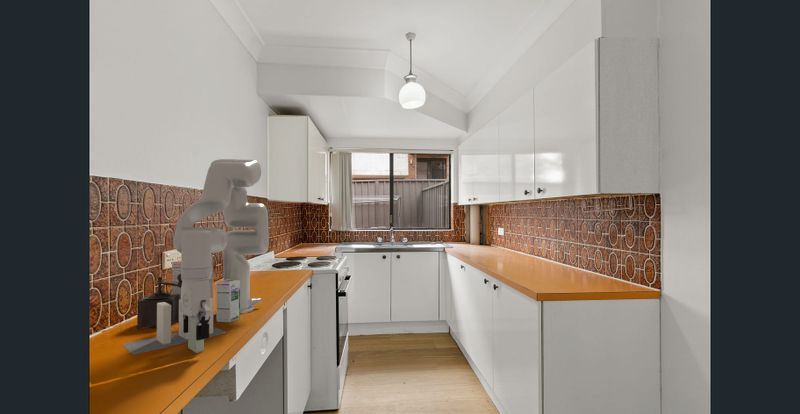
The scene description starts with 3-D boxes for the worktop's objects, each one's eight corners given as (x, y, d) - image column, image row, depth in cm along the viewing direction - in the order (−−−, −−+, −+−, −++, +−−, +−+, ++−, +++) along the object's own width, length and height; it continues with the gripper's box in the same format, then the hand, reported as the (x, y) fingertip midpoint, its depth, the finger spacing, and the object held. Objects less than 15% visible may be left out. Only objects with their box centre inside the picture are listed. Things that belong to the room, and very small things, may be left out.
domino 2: (185, 333, 121) (185, 298, 121) (192, 337, 117) (193, 301, 117) (178, 335, 120) (179, 299, 120) (185, 339, 116) (185, 302, 116)
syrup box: (230, 323, 134) (230, 282, 134) (215, 322, 135) (215, 281, 135) (240, 319, 139) (240, 279, 139) (226, 318, 140) (226, 278, 141)
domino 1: (164, 338, 117) (164, 301, 117) (170, 342, 113) (171, 305, 113) (156, 339, 115) (157, 303, 115) (163, 344, 111) (163, 306, 111)
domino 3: (195, 347, 110) (196, 309, 110) (203, 352, 106) (204, 312, 106) (188, 349, 109) (188, 310, 109) (196, 354, 105) (196, 314, 105)
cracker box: (202, 309, 154) (202, 256, 154) (214, 310, 152) (214, 257, 152) (170, 318, 141) (171, 261, 141) (183, 319, 139) (183, 261, 139)
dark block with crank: (134, 330, 126) (135, 275, 126) (147, 321, 137) (147, 270, 137) (187, 327, 130) (187, 273, 130) (195, 318, 141) (195, 269, 141)
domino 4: (205, 329, 126) (205, 295, 126) (213, 333, 122) (213, 298, 122) (199, 330, 124) (199, 296, 124) (206, 334, 120) (206, 299, 120)
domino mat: (211, 326, 130) (211, 325, 130) (226, 334, 122) (226, 333, 122) (122, 345, 111) (122, 344, 111) (133, 356, 103) (133, 354, 103)
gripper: (171, 272, 111) (170, 332, 111) (193, 279, 99) (193, 346, 99) (198, 269, 116) (198, 326, 116) (223, 275, 105) (222, 339, 104)
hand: (195, 335), depth 107 cm, fingers open, 9 cm apart
